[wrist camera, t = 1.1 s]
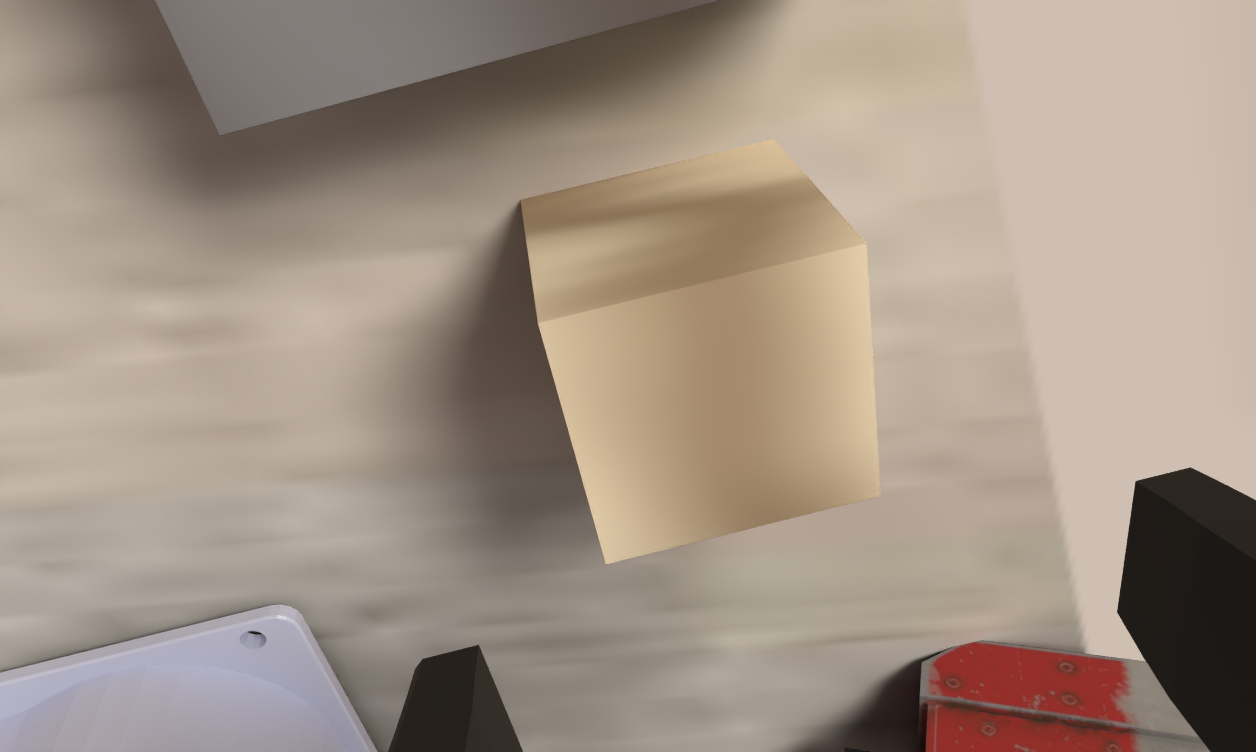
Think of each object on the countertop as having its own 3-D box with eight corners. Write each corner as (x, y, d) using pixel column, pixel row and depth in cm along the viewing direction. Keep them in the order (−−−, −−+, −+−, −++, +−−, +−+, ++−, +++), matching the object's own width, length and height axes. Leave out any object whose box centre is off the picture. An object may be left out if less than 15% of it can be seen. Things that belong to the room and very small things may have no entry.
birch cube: (576, 407, 19) (605, 564, 15) (520, 198, 16) (538, 323, 12) (796, 352, 19) (880, 495, 15) (772, 137, 16) (866, 243, 13)
